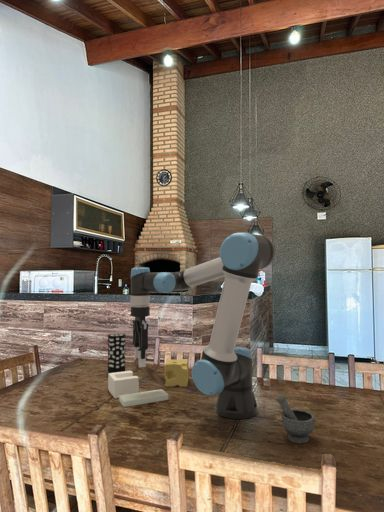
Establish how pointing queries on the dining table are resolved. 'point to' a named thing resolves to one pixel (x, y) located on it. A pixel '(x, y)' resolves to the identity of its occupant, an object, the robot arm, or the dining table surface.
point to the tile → (150, 373)
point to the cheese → (176, 373)
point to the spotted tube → (116, 353)
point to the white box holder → (122, 383)
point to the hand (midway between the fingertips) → (140, 365)
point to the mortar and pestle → (296, 422)
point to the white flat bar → (143, 397)
